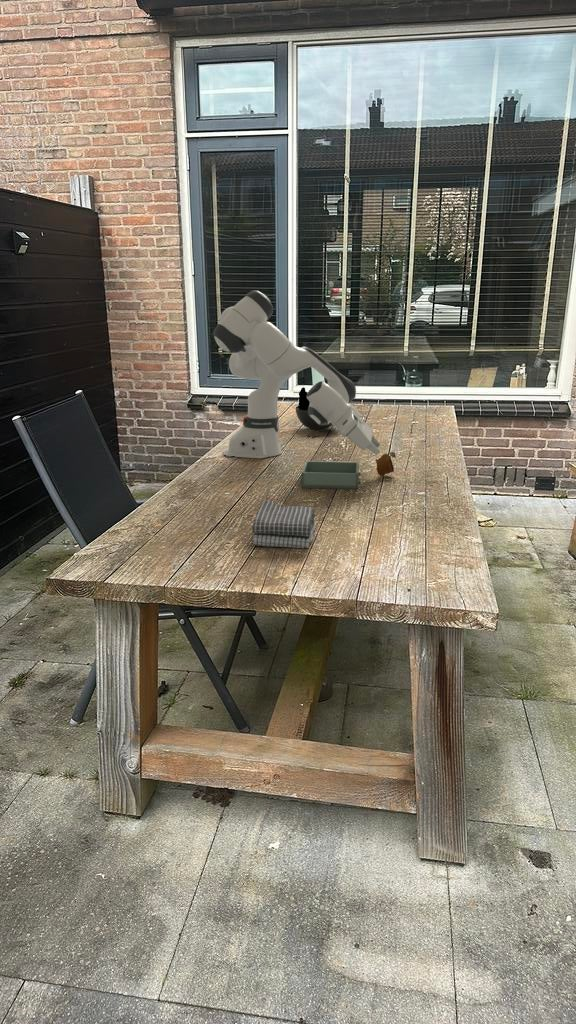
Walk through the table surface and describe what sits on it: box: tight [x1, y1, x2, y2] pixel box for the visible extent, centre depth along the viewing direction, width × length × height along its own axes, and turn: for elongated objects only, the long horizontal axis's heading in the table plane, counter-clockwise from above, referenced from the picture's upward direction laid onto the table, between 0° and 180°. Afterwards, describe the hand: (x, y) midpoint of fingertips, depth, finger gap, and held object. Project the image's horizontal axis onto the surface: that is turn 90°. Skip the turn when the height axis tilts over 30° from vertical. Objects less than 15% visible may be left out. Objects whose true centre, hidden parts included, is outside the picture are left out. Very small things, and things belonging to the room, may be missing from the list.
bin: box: [301, 460, 360, 490], centre depth 225 cm, size 18×15×5 cm
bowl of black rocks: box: [295, 386, 333, 431], centre depth 302 cm, size 20×20×19 cm
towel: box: [251, 499, 316, 549], centre depth 177 cm, size 15×18×8 cm
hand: (378, 449), depth 228 cm, fingers open, 8 cm apart
